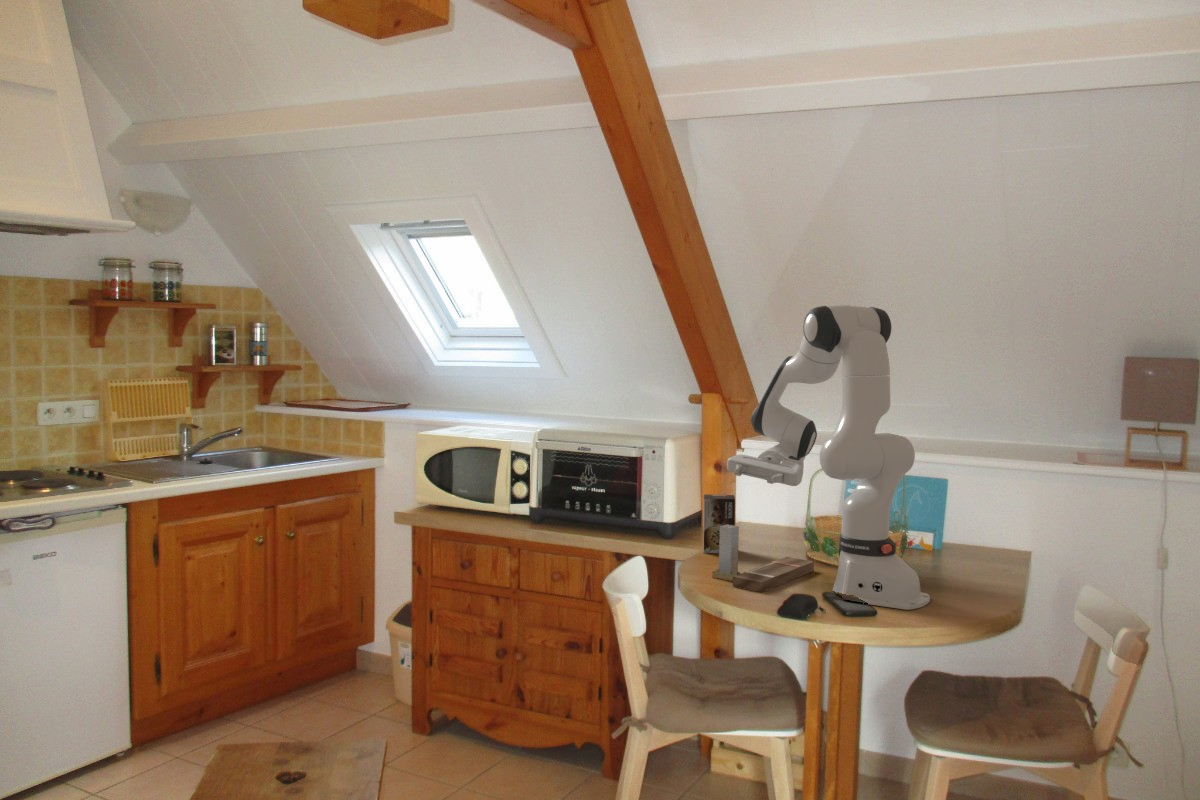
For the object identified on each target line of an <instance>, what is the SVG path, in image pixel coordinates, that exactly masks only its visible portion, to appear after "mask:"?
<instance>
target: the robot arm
mask: <svg viewBox="0 0 1200 800" xmlns="http://www.w3.org/2000/svg"><path fill="white" fill-rule="evenodd" d="M802 327H803V336H802V339H801V343H800V344H799V349H798V351H797V352H796V354H794V355H792V356H791V355H790V356H789V355H788V356H787V357H785V359H784V360H783V361H782V362H781V364H780V365H779V366H778V368H777V370H776V371H775V373H774V375H773V377H772V379H771V380H770V383H769V385H768V387H766V391H765V392H764V394H763V396H762V398H761V400H760V401H759V403H758V404H757V406H756V407H755V409H754V410H753V412H752V415H751V418H750V423H751V426H752V428H753V431H754V432H755V433H757V434H759V435H760V436H761V435H762V436H764V437H767V438H769V439H771V440H773V441H775V442H777V444H776V445H774V446H773V447H770V448H768V449H766V450H765V451H762V452H761V453H760V454H759V455H758V456H757V457H756V456H752V455H746V454H736V455H733V456H731V457H729V458H727V462H726V469H727V471H728V472H730V473H733V475H734V476H738V477H740V476H747V477H752V478H757V479H760V480H763V481H764V480H765V481H766V483H767V484H772V485H774V484H782V485H785V486H786V485H787V486H791V487H797V486H799V485H800V484H801V483H802V479H803V476H804V475H803V474H804V467H805V466H804V461H805V459H806V456H808V455H809V454H810V453H811V451H812V449H813V447H814V445H815V443H816V441H817V436H818V433H817V432H818V431H817V427H816V424H815V422H814V421H813V420H811V419H810V418H808V417H806V416H803V415H802V414H800V413H798V412H796V411H793V410H791V409H789V408H787V407H785V406H783V405H782V404H781V403H780V399H781V397H782V395H783V394H784V391H785V390H786V388H787V386H788V384H792V383H797V384H799V383H800V384H808V385H813V384H820V383H824V382H826V381H828V380H829V379H831V378H832V377H833V376H834V375H835V373H836V371H837V369H838V367H839V365H840V362H841V359H842V370H841V371H842V376H841V377H842V398H841V399H842V400H841V403H842V405H841V411H840V417H839V419H838V422H837V424H836V427H835V428H834V431H833V432H832V435H831V436H830V437H828V439H827V440H826V441H824V443H823V444H822V446H821V448H820V451H819V462H820V463H819V464H820V466H821V469H822V471H823V473H825V475H826V476H828V477H829V478H831V479H834V480H835V479H836V480H840V481H841V480H842V481H845V482H846V481H847V482H852V481H854V482H855V481H857V484H856V486H855V488H854V489H853V491H852V492H851V493H850V495H848V496H847V497H846V498H845V499H844V500H843V502H842V506H841V533H839V537H838V538H839V539H838V556H839V562H838V567H837V573H836V578H835V582H834V585H833V587H832V592H833V591H835V592H839V593H842V594H846V595H854V596H856V597H858V598H859V599H861V600H863V601H865V602H867V603H868V604H867V605H871V606H872V605H873V606H878V607H879V606H880V607H884V608H885V607H886V608H891V609H893V608H894V609H898V610H899V609H900V610H906V611H908V610H916V609H919V608H922V607H925V606H926V605H928V604H929V603H930V602H931V597H930V595H929V593H926V592H922V591H921V582H920V578H919V575H918V573H917V572H916V571H915V570H914V569H913V568H912V567H910V565H908V564H907V563H906V562H905V561H904V560H903V559H902V558H900V557H899V555H897V552H896V551H897V550H896V549H897V547H898V546H899V541H894V540H892V538H891V537H890V536H889V534H890V533H889V531H890V517H891V515H890V514H891V507H892V502H893V499H894V496H895V493H896V491H897V488H898V486H899V484H900V482H901V481H902V479H903V477H904V476H905V475H907V473H908V472H909V471H911V469H912V468H913V466H914V463H915V460H916V459H915V458H916V453H915V449H914V446H913V444H912V443H911V441H910V440H909V439H908V438H907V437H905V436H903V435H899V434H895V433H891V432H880V433H876V431H877V426H878V424H879V421H880V420H881V419H882V417H883V416H885V415H886V414H887V413H888V411H889V410H890V408H891V376H890V375H891V373H890V372H891V371H890V361H889V359H890V358H889V353H888V352H889V351H888V347H887V342H888V341H889V339H890V337H891V334H892V322H891V319H890V315H889V314H888V313H887V312H886V311H885V310H884V309H881V308H878V307H875V306H874V307H873V306H869V307H866V306H865V307H864V306H857V305H849V304H848V305H845V304H841V305H840V304H839V305H831V306H827V305H822V306H816V307H813V308H811V309H810V310H809V311H808V312H807V314H806V315H805V317H804V320H803V326H802Z"/></svg>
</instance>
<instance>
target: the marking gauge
mask: <svg viewBox="0 0 1200 800" xmlns="http://www.w3.org/2000/svg"><path fill="white" fill-rule="evenodd" d="M739 532H740V526H739V525H735V526H733V525H723V526H720V542H719V553H718V569H717V570H714V571H712V574H711V577H715V578H714V579H717V578H719V580H722V579H723V580H724V581H727V580H729V581H728V582H732V581H733V576H736V575H738V574H741V573H742V572H739V571H738V570H739V540H740V539H739V537H740V535H739ZM723 580H722V581H723Z"/></svg>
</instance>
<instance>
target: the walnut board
mask: <svg viewBox="0 0 1200 800" xmlns="http://www.w3.org/2000/svg"><path fill="white" fill-rule="evenodd" d="M814 571H815V561H814V560H807V559H802V558H797V557H790V556H786V557H782V558H780V559H777V560H773V561H771V562H769V563H765V564H763V565H760V566H758V567H755V568H753V569H750V570H746V571H743V572H740V573H741V574H738V575H736V576H733V582H732V587H733V586H735V587H734V588H738V587H740V588H739V589H743V588H745V589H744V590H747V589H749V590H748V591H752V590H754V592H757V591H759V592H758V593H763V592H765V590H766V591H768V590H770V588H771V589H773V588H775V587H778V586H780V585H782V584H785V583H787V582H790V581H792V580H795V579H797V578H799V577H802V576H804V575H807V574H810V573H811V572H814ZM767 589H768V590H767ZM762 591H763V592H762Z"/></svg>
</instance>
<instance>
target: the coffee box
mask: <svg viewBox="0 0 1200 800" xmlns="http://www.w3.org/2000/svg"><path fill="white" fill-rule="evenodd" d="M702 512H703V519H702V520H703V521H702V524H703V526H702V528H703V530H702V531H703V532H702V533H703V534H702V536H703V537H702V552H703V554H719V542H720V526H723V525H733V526H736V496H735V495H734V494H703V511H702Z"/></svg>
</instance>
